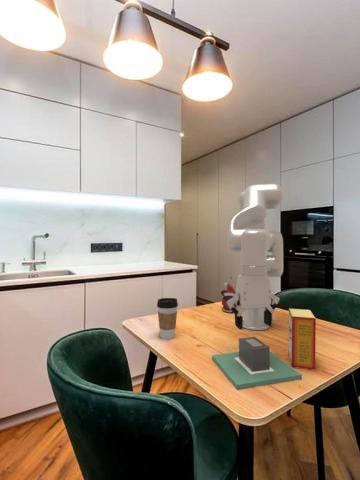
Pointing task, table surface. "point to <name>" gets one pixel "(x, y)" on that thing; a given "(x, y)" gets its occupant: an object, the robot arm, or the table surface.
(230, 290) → the red christmas figurine
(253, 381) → the pin board
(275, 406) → the table surface
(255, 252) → the robot arm
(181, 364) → the table surface
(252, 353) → the block
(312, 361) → the baking soda box
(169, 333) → the coffee cup
